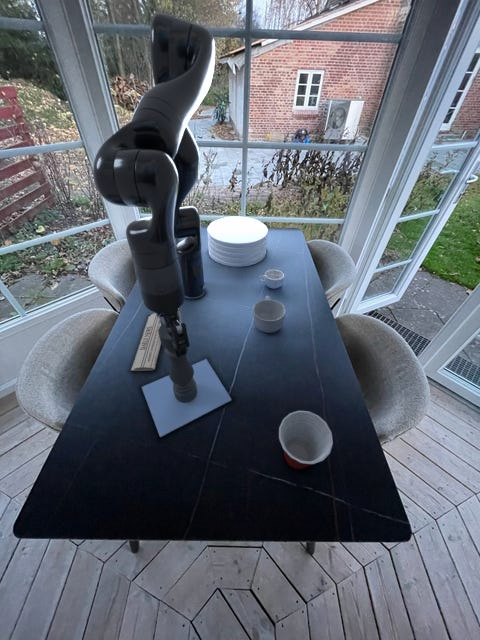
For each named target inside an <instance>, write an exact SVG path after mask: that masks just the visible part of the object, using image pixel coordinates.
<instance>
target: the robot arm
mask: <svg viewBox="0 0 480 640" xmlns="http://www.w3.org/2000/svg"><path fill="white" fill-rule="evenodd" d="M149 53H150V54H149V55H150V57H149V58H150V64H151V65H150V66H151V73H152V80H153V86H152V87H151V88H150V89H148V90H147V91H146V92H145V93H144V95H142V96H141V99H140V100H139V102H138V103H137V106H136V108H135V110H134V112H133V115H132V117H131V119H130V121H129V122H127V123H126V124H124V125H123V126H121V127H120V128H119V129H118V130H116V132H114V133H113V134H112V135H111V136H110V137H108V138H107V139H106V140H105V141H104V142H103V143H102V144H101V146H100V148H99V149H98V151H97V152H96V155H95V158H94V161H93V167H92V168H93V169H92V175H93V176H92V177H93V181H94V184H95V187H96V190H97V191H98V193H99V194H100V196H101V197H102V198H103V199H104V200H105V201H106V202H108V203H109V204H112V205H115V206H119V207H128V208H129V207H130V208H132V207H133V208H141V209H142V208H144V209H150V211H151V216H147V217H142V218H138V219H135V220H133V221H131V222H130V223H129V224H128V225H127V227H126V230H125V235H126V240H127V244H128V247H129V250H130V254H131V257H132V261H133V266H134V272H135V273H134V274H135V277H136V281H137V284H138V288H139V291H140V294H141V297H142V300H143V304H144V306H145V308H146V309H148V310H149V311H150V312H153V313H156V315H157V317H159V318H160V322H161V325H162V324H163V325H164V328H165V331H166V334H167V335H168V336H170V337H171V340H172V342H173V343H172V344H173V346H174V349H175V354H176V356H177V357H181V356H183V355H185V354H186V355H187V353H188V350H186V348H187V347H188V348H190V345H191V344H190V341H189V336H188V330H187V324H186V323H185V321H183V320H182V313H181V310H180V307H181V306H182V305H183V304H184V302H185V299H187V300H198V299H201V298H202V297H203V296H205V294H206V287H205V286H206V282H205V274H204V262H203V253H202V251H203V250H202V249H203V247H202V223H201V216H200V213H199V211H198V210H199V209H197V207H195V206H193V205H189V206H182V204H183V202H185V200H186V198H187V197H188V196H189V195H190V193H191V192H192V190H193V189H194V187H195V186H196V184H197V182H198V180H199V174H200V157H201V156H200V150H199V146H198V144H197V142H196V139H195V138H194V135H193V133H192V131H191V130H190V128H189V125H188V123H189V121H190V120H191V118H192V116H193V115H194V113H195V112H196V111H197V110H198V108H199V106H200V105H201V104H202V102H203V100H204V98H205V97H206V95H207V94H208V91H209V90H210V87H211V85H212V81H213V75H214V71H215V64H216V63H215V62H216V61H215V60H216V44H215V38H214V36H213V34H212V32H211V31H210V29H208V28H207V27H205V26H204V25H201V24H198V23H195V22H192V21H189V20H186V19H183V18H179V17H177V16H174V15H171V14H168V13H164V12H157V13H154V15H153V17H152V19H151V22H150V28H149ZM181 206H182V207H181ZM180 239H183V240H182V241H180V242H179V240H180ZM175 240H176V241H175ZM168 328H171V331H169V329H168Z"/></svg>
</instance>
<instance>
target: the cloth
mask: <svg viewBox="0 0 480 640" xmlns="http://www.w3.org/2000/svg"><path fill="white" fill-rule="evenodd" d="M191 365H192V367H193V370H194V375H193V378H194V380H195V382H196V387H197V395H196V397H195V398H194V400H192V401H190V402H187V403H182V402H179V401H178V400H177V399H176V398H175V395H174V391H173V382H172V380H171V379H170V377H169V374H168V375H166V376H164V377H162V378H159V379H157V380H155V381H152V382H150V383H148V384H146V385H143V386H141V390H142V393H143V396H144V398H145V400H146V403H147V406H148V410H149V411H150V415H151V417H152V419H153V422H154V425H155V428H156V430H157V433H158V436H159V438H162V437H164V436H166V435H168V434H170V433H172V432H174V431H176V430H178V429H180V428H182V427H184V426H186V425H187V424H189V423H192V422H194V421H195V420H197V419H199V418H201V417H204V416H205V415H207V414H209V413H211V412H212V411H214V410H216V409H219V408H220V407H222V406H224V405H226V404H227V403H230V402H232V400H233V398H231V396H230V394H229V392H228V391H227V389H226V388H225V386H224V385H223V384H222V381H221V380H220V379H219V377H218V375H217V374H216V371H214V368H213V367H212V365H211V364H210V363H209V360H208V359H207V358H205V359H203V360H200V361H199V362H196V363H193V364H191Z"/></svg>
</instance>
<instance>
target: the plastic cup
mask: <svg viewBox="0 0 480 640" xmlns="http://www.w3.org/2000/svg"><path fill="white" fill-rule="evenodd" d="M278 439H279V442H280V444H281V447H282V449H283V453H284V454H283V455H284V459H285V460H286V463H287V464H288V465H289V466H290V467H292V469H293V468H294V469H296V470H302V469H305V468H307V467H309V466H311V465H315V464H317V463H320V462H323V461H324V460H325V459H326V458H328V456H329V455H330V454H331V451H332V448H333V445H334V441H333V433H332V430H331V429H330V426H329V425H328V422H326V421H325V420H324V419H323V418H322V417H321V416H319V415H318V414H316V413H314V412H311V411H308V410H296V411H293V412H290V413H288V415H286V416H285V417H284V418H283V419H282V420H281V423H280V424H279V427H278Z"/></svg>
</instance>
